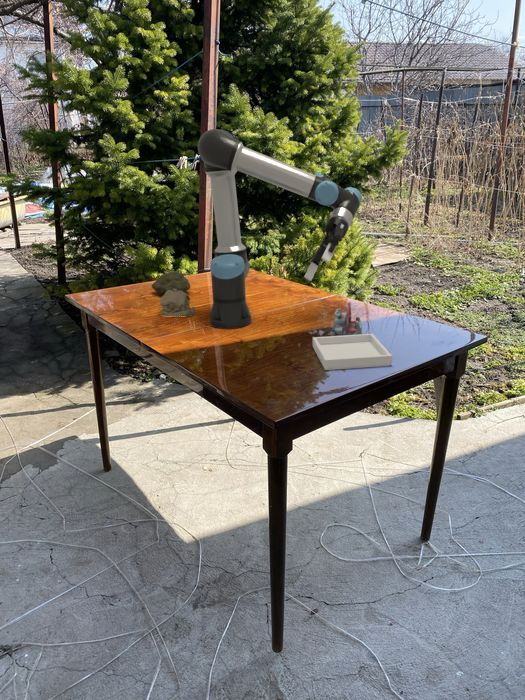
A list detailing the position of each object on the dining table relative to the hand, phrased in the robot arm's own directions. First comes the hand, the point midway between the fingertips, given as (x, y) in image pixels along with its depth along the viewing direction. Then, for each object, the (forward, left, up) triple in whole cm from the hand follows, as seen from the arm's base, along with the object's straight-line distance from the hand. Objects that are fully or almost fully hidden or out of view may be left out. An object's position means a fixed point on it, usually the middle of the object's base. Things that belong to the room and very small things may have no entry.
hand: (316, 269), depth 172 cm
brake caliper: (+9, -6, -21) cm, 24 cm away
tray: (+5, -26, -21) cm, 33 cm away
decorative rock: (-53, +59, -21) cm, 82 cm away
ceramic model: (-49, +29, -21) cm, 60 cm away
